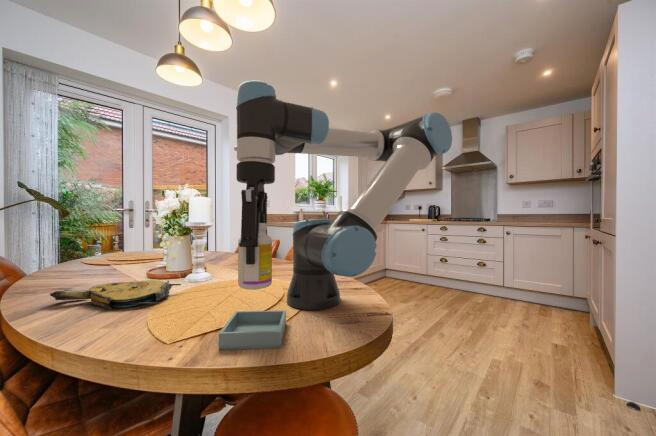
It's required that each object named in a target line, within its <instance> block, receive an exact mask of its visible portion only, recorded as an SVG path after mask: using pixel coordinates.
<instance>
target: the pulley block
mask: <svg viewBox="0 0 656 436" xmlns="http://www.w3.org/2000/svg"><path fill="white" fill-rule="evenodd" d="M181 285H182V284H181V283H170V281H169V280H166V281H163V280H162V281H161V280H157V279H156V280H154V279H153V280H135V281H134V280H133V281H123V282H111V283H103V284H98V285H94V286H92V287H91V288H89V290H87V289H64V290H59V291H53V292H50V293H48V294H49V296H50V297H52V298H54V300H55V301H71V300H74V301H75V300H90V305H93V306H95V307H100V308H103V309H106V310H111V311H114V310H116V311H124V310H132V309H134V310H135V309H137V308H138V309H139V308H143V307H148V306H151V305H153V304H159V301H160V300H162V299H163V298H164V297H167V296H169V294H170V290H171V289H172V287H173V286H181Z"/></svg>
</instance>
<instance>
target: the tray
mask: <svg viewBox="0 0 656 436" xmlns="http://www.w3.org/2000/svg"><path fill="white" fill-rule="evenodd" d="M286 325H287V310H243V311H242V310H241V311H240V310H235V311H234V312H233V314H232V315H231V317H230V318H229V319H228V321H227V322H226V323H225V325H224V326H223V327H222V328H221V330H220V331H219V332H218V350H219V351H221V350H222V351H223V350H227V351H228V350H229V351H230V350H255V349H256V350H261V349H266V350H267V349H281V347H282V343H283V339H284V335H285V331H286Z"/></svg>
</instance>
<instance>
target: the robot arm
mask: <svg viewBox="0 0 656 436" xmlns="http://www.w3.org/2000/svg"><path fill="white" fill-rule="evenodd" d="M236 97H237V98H236V107H235V110H236V145H235V146H234V147H233V150H234V151H235V152H236V160H237V161H239V162H238V163H237V164H236V181H237V182H239V183H241V184H246V187H245V189H241V192H240V194H241V222H240V223H241V226H240V237H241V243H239V247H244V281H259V247H257V246H258V234H259V223H267V224H268V193H267V192H266V191H265V185H272V184H274V183H275V181H276V166H275V165H274V163H276V156H283V155H285V154H302V155H307V154H308V155H320V156H321V155H324V156H338V157H339V156H342V157H355V158H356V157H360V158H367V160H369V161H371V162H372V161H374V162H375V161H376V162H384V164H383V165H381V167H380V168H379V170H378V171H377V173H376V174H375V175H374V176H373V178H372V179H371V180H370V182H368V184H367V185H366V187H364V189H363V191H362V192H360V195H359V196H358V197H357V198H356V200H355V201H354V202H353V204H352V205H351V206H350V208H348V209H342V210H340V211H339V212H337V214H336V216H334V217H333V219H330V218H314V219H304V220H299V221H296V222H295V223H294V224H293V230H292V254H293V255H292V269H293V270H292V272H293V273H292V277H291V280H290V284H289V287H288V290H287V293H286V304H287V305H288V306H290V307H291V308H294V307H295V309H298V308H299V310H305V311H306V310H307V311H315V310H317V311H320V310H325V309H326V310H327V309H331V308H333V307H336V306H338V304H340V303H341V293H340V289H339V286H338V284H337V279H336V277H335V276H338V277H345V278H355V277H357V276H359V275H362V274H364V273H365V272H367V271H368V269H369V268H370V267H371V266H372V264H373V263H374V261H375V258H376V255H377V252H376V249H377V242H376V241H377V240H378V238H379V235H378V233H377V230H378V228H379V226H380V225H381V224H382V222H383V221H384V219H385V218H386V217H387V215H388V214H389V213H390V211H391V209H392V208H393V207H394V205H395V204H396V202H397V201H398V199H399V198H400V197H401V195H402V194H403V193H404V191H405V190H406V189H407V187H408V185H409V184H410V183H411V181H412V180H413V179H414V178H415V176H416V174H417V173H418V172H419V171H420V170H424V169H427V168H428V166H429V165H430V164H431V162H432V161H433V160H434V158H435V157H437V156H439V155H440V156H442V155H444V154H447V153H448V152H449V151H450V149H451V148H452V147H451V146H452V143H453V135H452V128H451V125H450V122H449V121H448V120H447V119H446V117H445V116H444V115H443V114H441V113H440V112H435V111H434V112H430V113H425V114H424V115H422V116H420V117H417V118H414V119H412V120H409V121H407V122H404V123H402V124H398V125H396V126H393V127H390V128H387V129H381V130H380V129H373V130H371V131H367V132H366V131H360V130H358V131H357V130H351V129H350V130H349V129H341V128H332V127H330V124H329V123H330V121H329V117H328V115H327V113H326V112H325V111H324V110H320V109H317V108H314V107H313V106H311V107H310V106H304V105H300V104H296V103H291V102H287V101H283V100H281V99H278V98H277V95H276V90H275V88H274V87H273V86H272V85H271V84H268V83H267V82H265V81H262V80H247V81H244V82H242V83H241V84H239V86H238V87H237V95H236ZM266 235H268V228H267V229H266Z"/></svg>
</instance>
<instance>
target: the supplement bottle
mask: <svg viewBox="0 0 656 436" xmlns="http://www.w3.org/2000/svg"><path fill="white" fill-rule="evenodd" d="M266 229H267V230H268V222H267V223H259V234H258V246H257V247H259V281H244V247H239V243H241V236H240V237H239V238H238V241H237V247H238V248H237V249H238V250H237V254H238V255H237V262H238V263H237V268H238V269H237V271H238V272H237V282H238V283H237V284H238V287H239V288H241V289H244V290H253V291H254V290H262V289H266V288H268V287H270V286H271V285H272V282H273V280H272V279H273V267H272V266H273V256H272V255H273V241H272V237H271V236H269V235H268V234H267V235H266Z"/></svg>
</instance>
